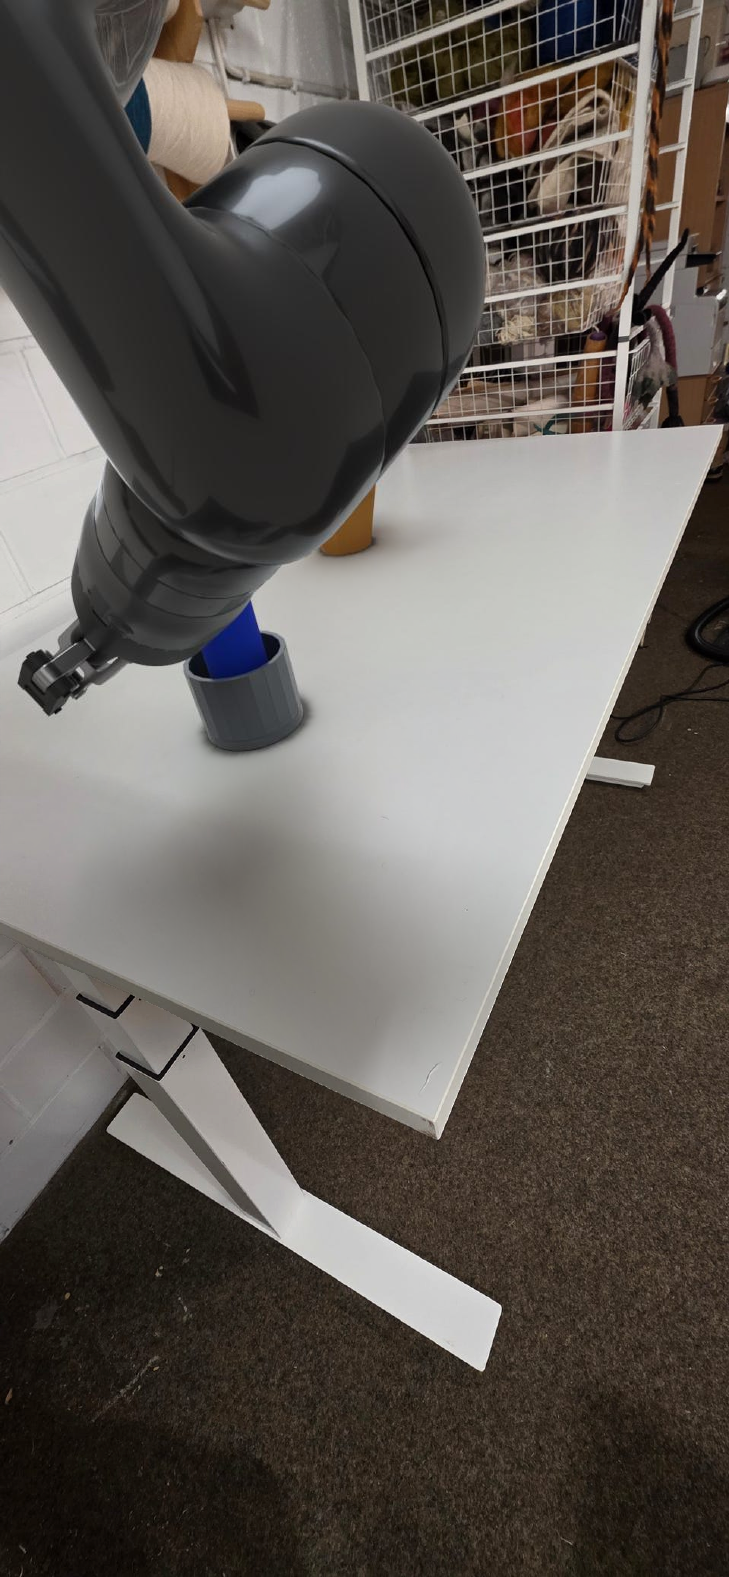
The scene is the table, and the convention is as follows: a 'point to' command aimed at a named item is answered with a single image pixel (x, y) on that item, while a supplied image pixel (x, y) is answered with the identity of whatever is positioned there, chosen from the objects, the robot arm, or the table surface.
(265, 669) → the grey pen holder cup
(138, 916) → the table surface
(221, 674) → the beverage can
